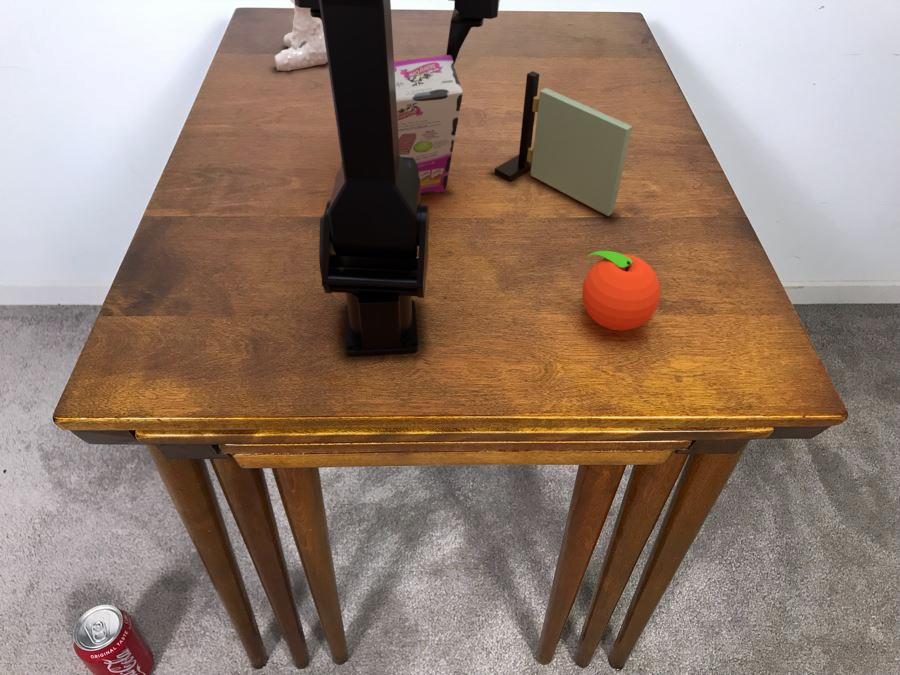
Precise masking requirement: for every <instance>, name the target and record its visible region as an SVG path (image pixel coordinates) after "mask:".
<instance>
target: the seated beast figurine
mask: <svg viewBox="0 0 900 675" xmlns="http://www.w3.org/2000/svg"><path fill="white" fill-rule="evenodd" d="M289 1H290V3H292V4H293V5H294V7H293V13H294V15H293V20H292V31H290V32H288V33H287V34H285V35H284V36H283V45H284V46H285V47H287V48H286V49H282V50H281V51H280V52H279V53H277V54H275V55H274V56H273V57H274V58H273V59H274V64H275V67H276V70H277V71H281V72H286V71H288V72H290V71H292V70H300V69H304V68H312V67H314V66H322V65H326V64H328V60H327V53H326V46H325V39H324V32H323V25H322V20H321V19H320V18H315V17H312V16H311V15H310V9H311V8H299V7H298V6H296V5H295V0H289Z"/></svg>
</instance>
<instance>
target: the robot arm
mask: <svg viewBox="0 0 900 675" xmlns="http://www.w3.org/2000/svg"><path fill="white" fill-rule="evenodd" d="M449 1H450V2H454V5H453V6H454V7H453V11H452V13H451V14H452V15H451V19H450V25H449V30H448V39H447V45H446V46H447V47H446V54H445V55H451V56H452V59H453V62H454V65H455V64H456V61H457V58H458V55H459V53H460V50H461V48H462V46H463V44H464V42H465V40H466V38H467V37H468V35H469V33H470V31H471V29H472V28H480V27H482V26H484V20H485V19H488V20H491V19H495V18H498V15H499V8H500V3H501V2H500V1H501V0H449ZM391 3H392V2H391V0H295V5H296V6H298V7H299V8H311V9H310V15H311V16H312V17H315V18H320V19H321V20H322V25H323V32H324V39H325V46H326V53H327V60H328V62H327V66H328V74H329V80H330V87H331V95H332V102H333V107H334V115H335V121H336V122H335V123H336V130H337V138H338V143H339V151H340V158H341V162H340V168H339V170H338V171H337V172H336V175H335V180H334V185H333V189H332V193H331V198H330V199H329V200H328V201H327V202H326V206H325V209H324V213H323V214H322V215H321V216H320V218H319V242H318V243H319V244H318V245H319V248H318V250H319V251H318V253H319V254H318V258H319V260H318V261H319V271H320V278H321V286H322V288H323V290H324V293H325V294H332V293H338V294H339V293H340V294H345V296H346V304H345V325H344V326H345V335H344V338H345V339H344V340H345V341H344V349H345V354H346V355H347V356H366V355H383V354H384V355H386V354H402V353H416V352H417V351H418V350H419V335H418V334H419V333H418V323H417V313H416V301H415V300H413V298H412V297H417V298H419V299H424V298H425V292H426V283H427V273H428V266H429V229H430V227H429V224H430V208H429V207H430V206H429V204H423V203H422V194H421V186H420V178H419V174H418V165H417V163H416V161H415V160H414V158H411V157H401V156H400V154H399V138H398V121H397V104H396V87H395V70H394V61H395V55H394V40H393V39H394V37H393V23H392V22H393V20H392V19H393V18H392V5H391ZM295 5H294V6H295Z"/></svg>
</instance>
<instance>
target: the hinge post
mask: <svg viewBox="0 0 900 675" xmlns="http://www.w3.org/2000/svg"><path fill="white" fill-rule="evenodd" d="M539 82H540V73H538V72H536V71H530V72H528V73H527V74H526V81H525V92H524V101H523V110H522V120H521V129H520V130H521V131H520V140H519V141H520V142H519V150H518V151H519V152H518V155H516V156H514V157H512V158H510V159H508V160H507V161H505V162H503V163H502V164H499V165H498V166H496V167H495V168H494V175H495V176H497V177H499V178H501V179H503V180H505V181H506V182H508V183H510V182H512V181H514V180H515V179H517V178H519V177H520V176H522V175H524V174H526V173H527V172H529V171H531V165H532V157H533V148H534V147H532V144H533V137H534V136H533V135H534V128H535V126H534V125H535V117H536V113H538V105H539V96H538V91H539Z"/></svg>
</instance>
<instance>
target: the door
mask: <svg viewBox="0 0 900 675" xmlns="http://www.w3.org/2000/svg"><path fill="white" fill-rule="evenodd" d="M538 97H539V105H538V112H537V113H536V123H535V133H534V141H533V147H532V148H533V157H532V165H531V170H530V173H529V174H530V176H531V177H533V178H535V179H536V180H538V181H540V182H542V183H544V184H546V185H548V186H549V187H552V188H554V189H556V190H557V191H559V192H561V193H563V194H565V195H567V196H569V197H571V198H572V199H574V200H576V201H579V202H580V203H581V204H584V205H586V206H588V207H590V208H591V209H593V210H595V211H597V212H599V213H601V214H603V215H605V216H607V217H610V216H611V215H612V214H614V211H615V207H616V203H617V198H618V194H619V189H620V185H621V180H622V175H623V171H624V167H625V163H626V157H627V153H628V148H629V143H630V140H631V135H632V131H633V125H631V124H629V123H626V122H624V121H621V120H619V119H617V118H615V117H612V116H610V115H608V114H607V113H606V114H605V113H603V112H601V111H598V110H597V109H595V108H592V107H590V106H588V105H585V104H583V103H581V102H579V101H576V100H574V99H572V98H570V97H567V96H565V95H563V94H561V93H558V92H556V91H554V90H552V89H550V88H547V87H544V88H543V89H541V90H539V96H538Z"/></svg>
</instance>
